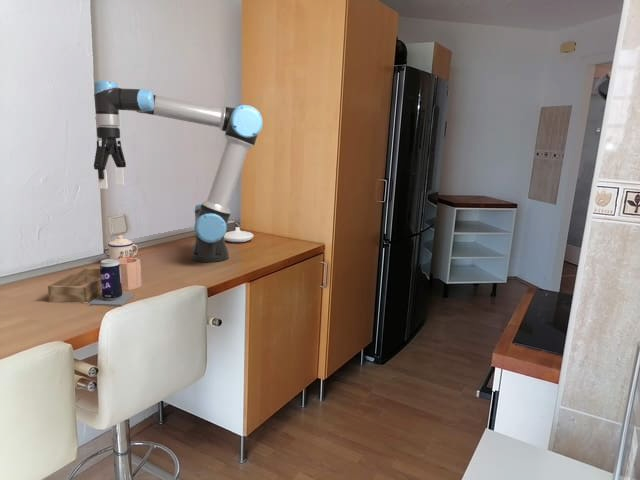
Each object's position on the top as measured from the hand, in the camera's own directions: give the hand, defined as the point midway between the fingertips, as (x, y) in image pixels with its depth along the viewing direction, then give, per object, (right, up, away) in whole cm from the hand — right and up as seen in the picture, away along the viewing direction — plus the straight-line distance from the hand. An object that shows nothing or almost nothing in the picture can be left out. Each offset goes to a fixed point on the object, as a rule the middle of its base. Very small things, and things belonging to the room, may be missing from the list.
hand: (112, 186), depth 170 cm
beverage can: (+12, -38, -26) cm, 47 cm away
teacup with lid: (-2, -29, +16) cm, 33 cm away
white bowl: (+35, -20, +62) cm, 74 cm away
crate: (0, -36, -19) cm, 41 cm away
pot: (+11, -35, -12) cm, 39 cm away
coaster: (+12, -38, -26) cm, 48 cm away
